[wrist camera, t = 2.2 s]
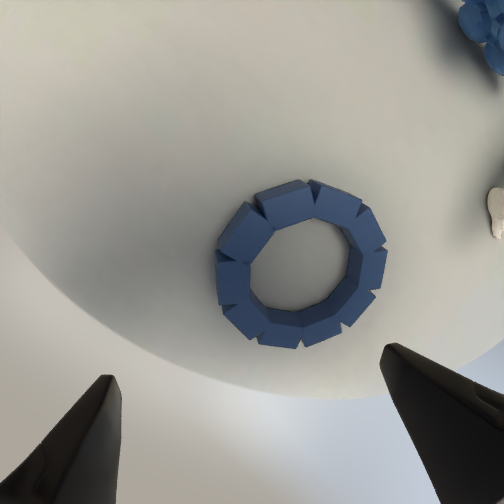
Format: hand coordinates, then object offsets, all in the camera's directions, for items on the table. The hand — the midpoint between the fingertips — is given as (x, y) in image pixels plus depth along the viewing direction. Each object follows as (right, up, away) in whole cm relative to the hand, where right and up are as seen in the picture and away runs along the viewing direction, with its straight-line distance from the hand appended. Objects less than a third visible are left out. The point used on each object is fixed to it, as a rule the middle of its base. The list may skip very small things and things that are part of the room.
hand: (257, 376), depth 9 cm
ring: (+2, +3, +8) cm, 9 cm away
